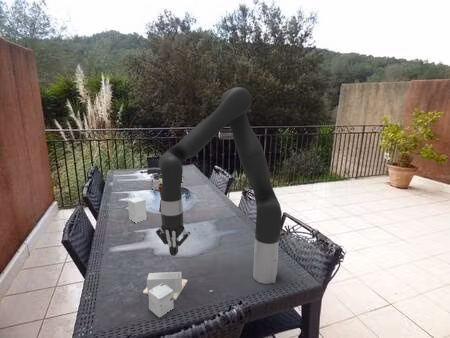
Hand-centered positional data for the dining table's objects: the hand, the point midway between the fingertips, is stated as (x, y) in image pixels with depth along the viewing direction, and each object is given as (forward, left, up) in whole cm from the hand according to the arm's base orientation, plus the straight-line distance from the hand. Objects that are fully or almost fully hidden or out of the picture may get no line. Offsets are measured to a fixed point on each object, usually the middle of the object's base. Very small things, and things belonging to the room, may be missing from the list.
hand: (173, 254), depth 104 cm
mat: (+3, +1, -14) cm, 14 cm away
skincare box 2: (0, +12, -14) cm, 18 cm away
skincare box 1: (-3, +1, -10) cm, 11 cm away
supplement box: (+45, -48, -14) cm, 68 cm away
